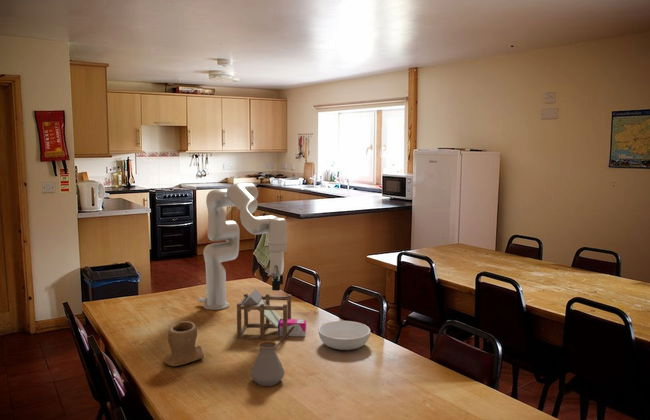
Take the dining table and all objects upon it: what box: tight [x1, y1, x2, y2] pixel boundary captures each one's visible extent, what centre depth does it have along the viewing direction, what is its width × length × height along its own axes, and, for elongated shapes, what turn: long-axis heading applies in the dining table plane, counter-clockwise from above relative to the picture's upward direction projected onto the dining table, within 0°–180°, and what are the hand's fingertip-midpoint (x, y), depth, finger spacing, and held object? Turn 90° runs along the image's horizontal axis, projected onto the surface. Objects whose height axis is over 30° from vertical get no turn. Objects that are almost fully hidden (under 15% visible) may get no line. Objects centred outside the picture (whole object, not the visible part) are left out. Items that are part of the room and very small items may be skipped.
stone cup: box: [162, 320, 205, 367], centre depth 195 cm, size 15×12×15 cm
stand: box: [236, 293, 292, 340], centre depth 227 cm, size 21×16×14 cm
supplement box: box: [277, 318, 307, 337], centre depth 225 cm, size 6×6×12 cm
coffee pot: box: [250, 326, 297, 387], centre depth 183 cm, size 21×12×15 cm, turn 147°
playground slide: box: [243, 288, 282, 329], centre depth 226 cm, size 17×13×5 cm
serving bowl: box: [317, 320, 371, 351], centre depth 213 cm, size 21×21×7 cm
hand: (277, 287), depth 225 cm, fingers open, 9 cm apart
